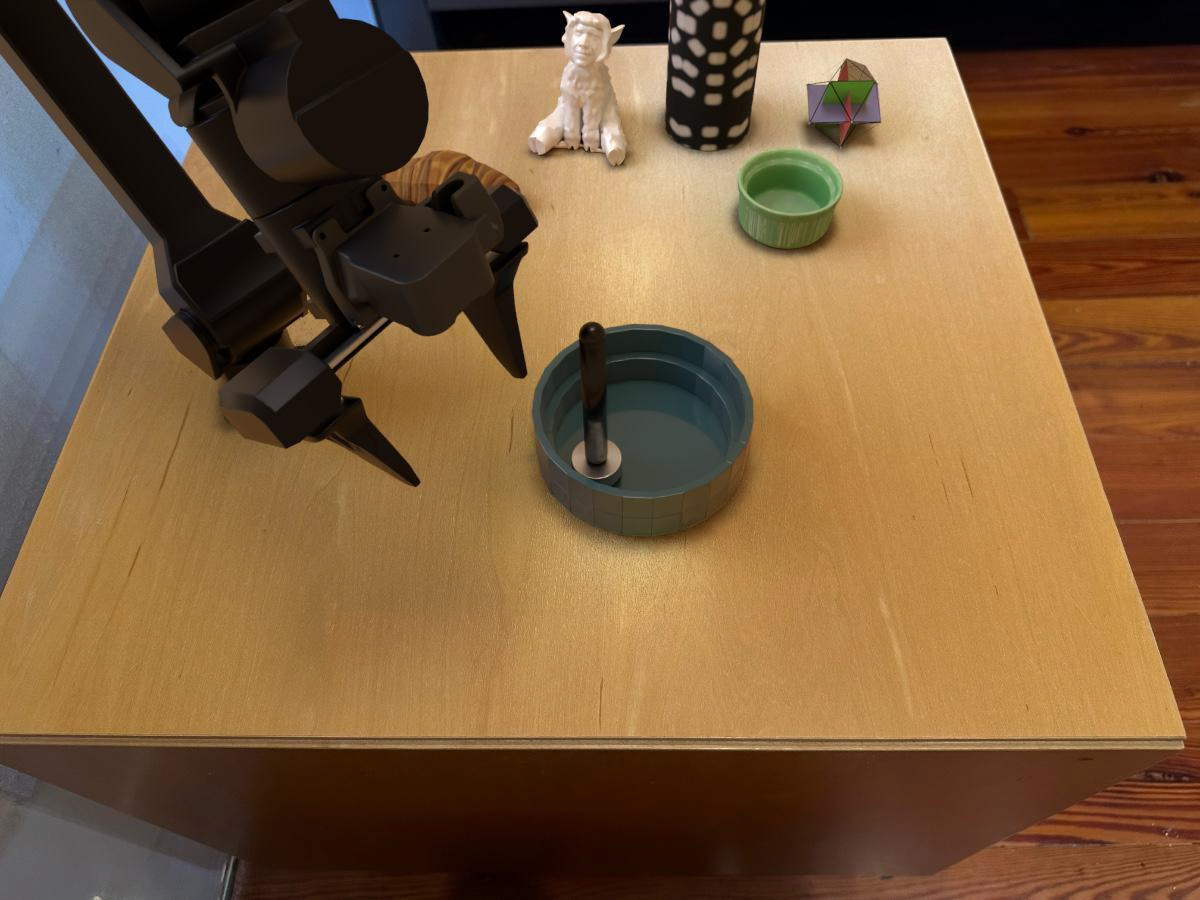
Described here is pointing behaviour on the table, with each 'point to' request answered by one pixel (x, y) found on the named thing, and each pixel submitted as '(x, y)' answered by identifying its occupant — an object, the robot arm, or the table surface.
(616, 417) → the bowl
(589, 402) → the upright rod on disc
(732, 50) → the spotted tube
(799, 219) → the ramekin
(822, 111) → the geometric puzzle
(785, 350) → the table surface
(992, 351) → the table surface
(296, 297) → the robot arm
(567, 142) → the sitting furry creature
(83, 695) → the table surface
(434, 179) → the croissant
